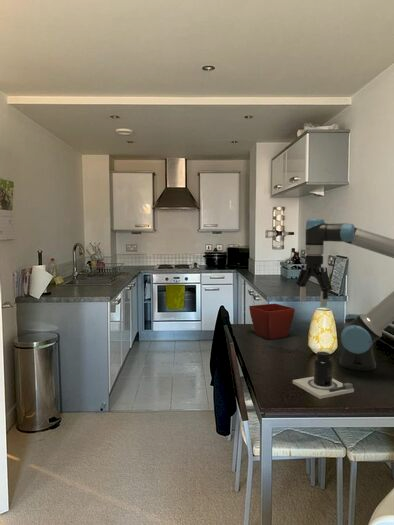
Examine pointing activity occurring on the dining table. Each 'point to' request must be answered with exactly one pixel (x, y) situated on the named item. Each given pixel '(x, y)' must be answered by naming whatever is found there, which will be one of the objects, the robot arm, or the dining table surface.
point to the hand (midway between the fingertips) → (312, 303)
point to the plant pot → (271, 320)
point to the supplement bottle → (323, 369)
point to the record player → (322, 391)
